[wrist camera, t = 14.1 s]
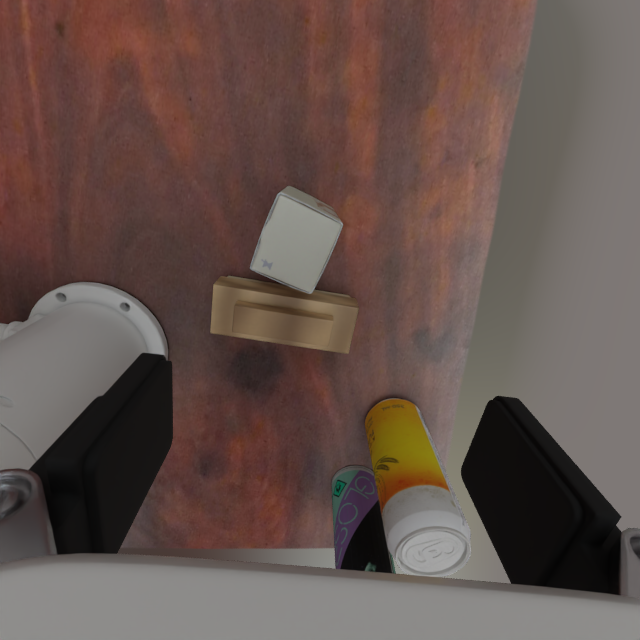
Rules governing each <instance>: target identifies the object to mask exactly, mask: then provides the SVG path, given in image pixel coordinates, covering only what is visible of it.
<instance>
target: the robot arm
mask: <svg viewBox="0 0 640 640" xmlns="http://www.w3.org/2000/svg"><path fill="white" fill-rule="evenodd" d="M172 439H173V401H172V362H171V361H168V345H167V340H166V337H165V334H164V332H163V329H162V327H161V326H160V324H159V322H158V321H157V319H156V318H155V316H154V315H153V314H152V313H151V312H150V311H149V309H148V308H147V307H145V306H144V305H143V304H142V303H141V302H140V301H138V300H137V299H136V298H134V297H132V296H131V295H129V294H128V293H126V292H124V291H122V290H119V289H117V288H115V287H112V286H109V285H105V284H101V283H93V282H78V283H70V284H67V285H64V286H61V287H59V288H57V289H55V290H53V291H51V292H49V293H47V294H46V295H45V296H43V297H42V298H41V299H40V300H39V301H38V302H37V303H36V305H35V306H34V307H33V308H32V311H31V313H30V316H29V318H28V320H26V321H25V322H18V321H14V322H11V323H10V324H3V323H0V640H640V529H638V528H628V529H626V530H624V531H623V532H621V531H620V530H619V529H618V527H617V526H616V524H617V523H618V521H619V520H620V518H621V516H620V515H619V514H618V512H617V511H616V510H615V509H614V508H613V507H612V505H611V504H610V503H609V502H608V501H607V500H606V499H605V498H604V496H603V495H602V494H601V493H600V492H599V490H597V488H596V487H595V486H594V485H593V484H592V482H591V481H590V480H589V479H588V478H587V477H586V476H585V474H584V473H583V472H582V471H581V470H580V469H579V467H578V466H577V465H576V464H575V463H574V462H573V461H572V459H571V458H570V457H569V456H568V455H567V454H566V453H565V452H564V450H563V449H562V448H561V447H560V446H559V445H558V443H557V442H556V441H555V440H554V439H553V438H552V436H551V435H550V434H549V433H548V432H547V431H546V430H545V429H544V427H543V426H542V425H541V424H540V423H539V422H538V420H537V419H536V418H535V417H534V416H533V415H532V414H531V412H530V411H529V410H528V409H527V408H526V407H525V405H524V404H523V403H522V402H521V401H520V400H519V399H517V398H511V397H502V396H496V397H495V398H494V399H493V400H490V401H489V402H488V403H487V406H486V408H485V410H484V413H483V415H482V418H481V421H480V423H479V425H478V428H477V430H476V433H475V435H474V438H473V440H472V443H471V446H470V447H469V450H468V453H467V455H466V457H465V460H464V462H463V465H462V468H461V476H462V479H463V482H464V484H465V486H466V488H467V490H468V492H469V494H470V497H471V499H472V501H473V503H474V505H475V507H476V509H477V512H478V514H479V516H480V518H481V520H482V522H483V524H484V526H485V529H486V531H487V533H488V535H489V537H490V539H491V541H492V543H493V546H494V548H495V550H496V552H497V554H498V556H499V558H500V560H501V563H502V564H503V567H504V569H505V571H506V573H507V575H508V578H509V579H510V582H511V584H507V583H497V582H486V581H474V580H463V579H452V578H440V577H429V576H417V575H404V574H393V573H381V572H369V571H356V570H344V569H332V568H319V567H307V566H294V565H280V564H268V563H255V562H242V561H229V560H215V559H202V558H187V557H170V556H152V555H136V554H117V553H118V550H119V549H120V547H121V545H122V543H123V541H124V539H125V537H126V535H127V533H128V531H129V529H130V527H131V525H132V523H133V521H134V519H135V517H136V515H137V513H138V511H139V509H140V507H141V505H142V503H143V501H144V499H145V497H146V495H147V493H148V491H149V489H150V487H151V485H152V483H153V481H154V479H155V477H156V475H157V473H158V471H159V469H160V467H161V465H162V463H163V461H164V459H165V457H166V455H167V453H168V452H169V449H170V447H171V444H172Z"/></svg>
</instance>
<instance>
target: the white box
mask: <svg viewBox="0 0 640 640" xmlns="http://www.w3.org/2000/svg"><path fill="white" fill-rule="evenodd" d="M342 227H343V223H342V222H341V220H340V219H339V217H338V216H337V214H336V213H335V211H334V209H333V208H332V207H331V206H329V205H327V204H325V203H323V202H322V201H320V200H318V199H316V198H314V197H312V196H310V195H308V194H306V193H304V192H302V191H300V190H298V189H296V188H293V187H291V186H287V187H286V188H285V189H283V190H282V191H281V192H279V193H278V194H277V196H276V199H275V201H274V203H273V205H272V208H271V210H270V212H269V215H268V217H267V220H266V222H265V225H264V227H263V230H262V232H261V235H260V238H259V241H258V244H257V247H256V250H255V253H254V256H253V259H252V262H251V265H250V269H251V270H253V271H255V272H257V273H259V274H261V275H264V276H266V277H268V278H270V279H273V280H275V281H277V282H280V283H282V284H284V285H287V286H289V287H292V288H295V289H297V290H300V291H303V292H306V293H308V294H311V293H312V292H313V290H314V289H315V287H316V285H317V283H318V281H319V279H320V277H321V275H322V273H323V271H324V269H325V267H326V265H327V262H328V260H329V258H330V256H331V253H332V251H333V249H334V247H335V244H336V242H337V240H338V237H339V235H340V232H341V229H342Z"/></svg>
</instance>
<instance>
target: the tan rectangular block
mask: <svg viewBox="0 0 640 640" xmlns="http://www.w3.org/2000/svg"><path fill="white" fill-rule="evenodd" d="M358 311H359V306H358V303H357V300H356V298H350V296H349V295H344V294H338V293H331V292H325V291H319V290H313V292H312V293H311V294H308V293H306V292H303V291H300V290H297V289H295V288H292V287H289V286H287V285H283V284H277V283H271V282H265V281H259V280H253V279H247V278H240V277H234V276H228V277H223V276H220V277H219V279H218V280H217V281H216V282H215V283H214V285H213V298H212V314H211V330H210V333H213V334H220V335H227V336H233V337H240V338H246V339H253V340H259V341H266V342H273V343H279V344H286V345H292V346H299V347H306V348H312V349H319V350H325V351H332V352H339V353H345V354H348V353H349V349H350V345H351V341H352V336H353V332H354V328H355V324H356V320H357V315H358Z"/></svg>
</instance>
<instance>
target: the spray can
mask: <svg viewBox="0 0 640 640" xmlns="http://www.w3.org/2000/svg"><path fill="white" fill-rule="evenodd" d="M332 505H333V525H334V545H335V566H336V569H344V570H356V571H369V572H381V573H393V574H396V573H395V567H394V562H393V558H392V555H391V553H390V552H389V550H388V546H387V541H386V536H385V531H384V525H383V520H382V514H381V509H380V504H379V498H378V493H377V487H376V482H375V477H374V472H373V471H371V470H370V469H368V468H366V467H363V466H357V465H356V466H348V467H345V468H342V469H341V470H339V471H338V472H337V473H336V474H335V475H334V477H333V479H332Z"/></svg>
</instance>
